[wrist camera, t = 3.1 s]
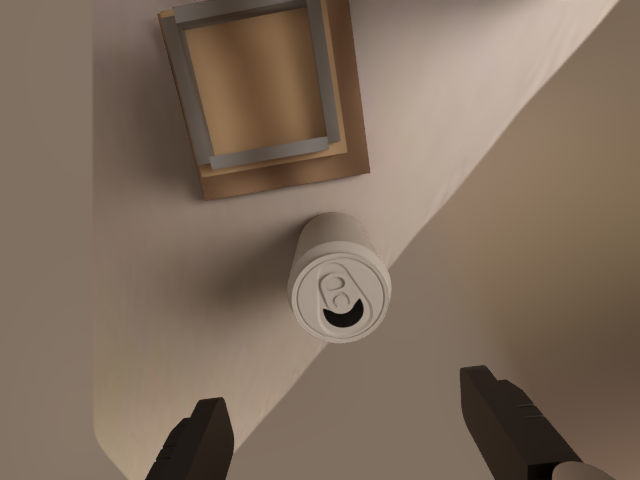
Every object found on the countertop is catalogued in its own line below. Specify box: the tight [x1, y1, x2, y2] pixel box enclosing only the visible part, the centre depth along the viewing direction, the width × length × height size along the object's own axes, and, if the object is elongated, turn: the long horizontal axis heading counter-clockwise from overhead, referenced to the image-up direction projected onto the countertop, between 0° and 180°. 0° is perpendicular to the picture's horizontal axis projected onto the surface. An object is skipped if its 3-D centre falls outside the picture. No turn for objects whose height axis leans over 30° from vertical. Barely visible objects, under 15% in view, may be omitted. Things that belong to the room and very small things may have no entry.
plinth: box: [158, 0, 370, 201], centre depth 24 cm, size 14×14×8 cm
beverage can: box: [287, 212, 391, 343], centre depth 25 cm, size 6×6×12 cm
